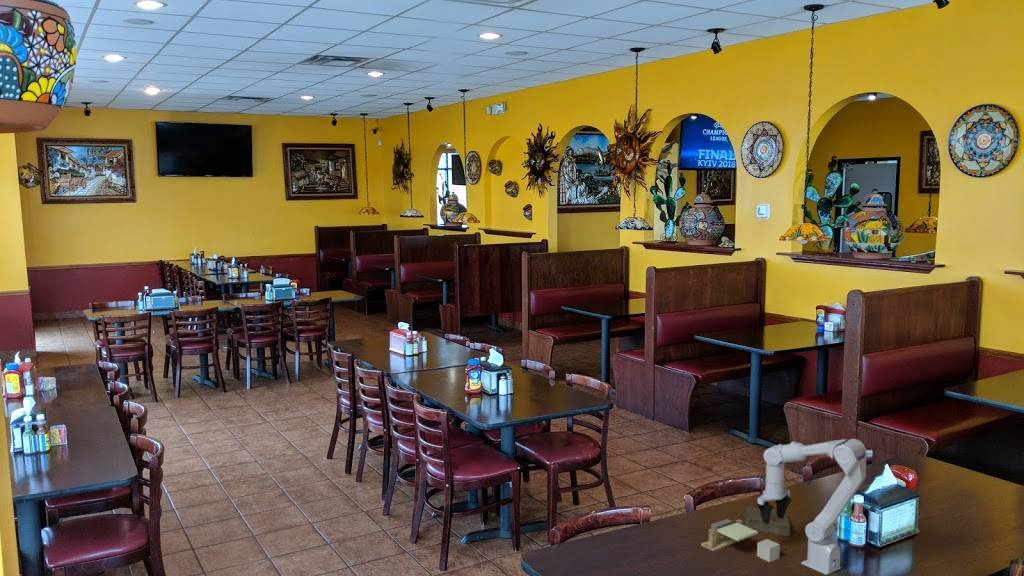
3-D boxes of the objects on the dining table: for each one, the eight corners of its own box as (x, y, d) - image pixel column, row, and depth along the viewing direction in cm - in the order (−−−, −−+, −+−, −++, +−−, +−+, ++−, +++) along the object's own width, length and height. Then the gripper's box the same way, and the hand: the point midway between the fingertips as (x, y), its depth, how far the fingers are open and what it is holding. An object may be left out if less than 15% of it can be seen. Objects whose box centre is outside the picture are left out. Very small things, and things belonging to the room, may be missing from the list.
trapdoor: (757, 534, 267) (758, 530, 266) (737, 541, 261) (738, 537, 261) (728, 522, 277) (729, 518, 277) (709, 528, 271) (709, 524, 271)
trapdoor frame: (742, 540, 276) (743, 521, 275) (712, 551, 267) (713, 531, 266) (731, 535, 280) (731, 516, 279) (701, 545, 271) (701, 526, 271)
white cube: (779, 558, 262) (779, 544, 261) (769, 562, 259) (770, 548, 259) (766, 553, 266) (767, 538, 265) (756, 557, 263) (757, 542, 263)
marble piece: (790, 537, 279) (791, 526, 278) (746, 534, 282) (747, 522, 281) (785, 518, 295) (786, 508, 294) (744, 515, 298) (744, 504, 298)
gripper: (778, 473, 273) (777, 511, 274) (750, 482, 265) (749, 521, 266) (796, 479, 267) (794, 518, 269) (768, 488, 259) (766, 528, 261)
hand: (773, 520), depth 267 cm, fingers open, 7 cm apart
